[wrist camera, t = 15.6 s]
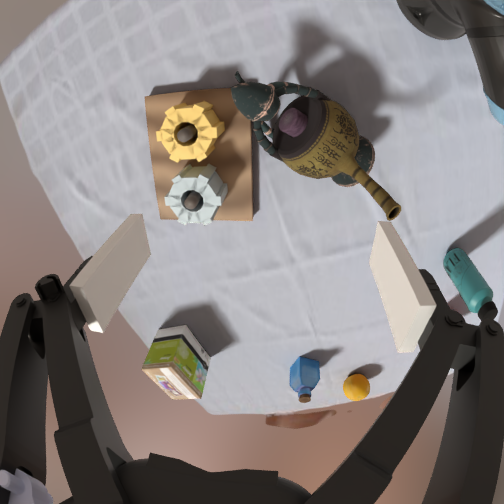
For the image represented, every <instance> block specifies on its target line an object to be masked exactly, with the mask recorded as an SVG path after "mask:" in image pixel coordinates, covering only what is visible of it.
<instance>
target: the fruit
mask: <svg viewBox="0 0 504 504" xmlns="http://www.w3.org/2000/svg"><path fill="white" fill-rule="evenodd" d="M343 390H344V393H345V395H346V396H347V398H349V399H350V400H353V401H359V400H362V399H364V398H365V397H366V396H367V395H368V394H369V392H370V384H369V381H368V380H367V378H366V377H365V376H363V375H362V374H354V375H352V376H350V377H348V378H347V379H346V380H345V381H344V384H343Z"/></svg>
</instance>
